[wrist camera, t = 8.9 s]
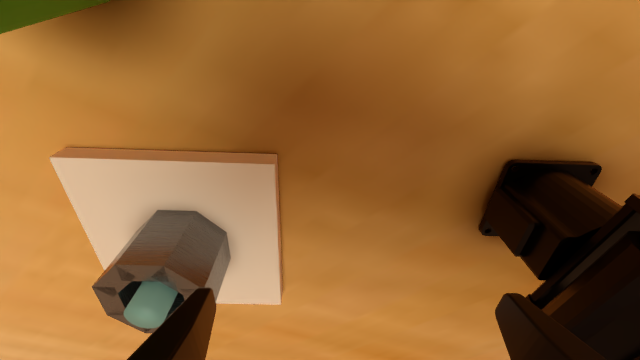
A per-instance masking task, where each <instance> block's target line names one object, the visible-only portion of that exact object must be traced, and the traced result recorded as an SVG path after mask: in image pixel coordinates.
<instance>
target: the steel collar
mask: <svg viewBox="0 0 640 360" xmlns="http://www.w3.org/2000/svg"><path fill="white" fill-rule="evenodd" d="M230 259H231V256H230V250H229V244H228V237H227V232H226V231H224V230H223V229H221V228H220V227H219V226H217V225H216V224H214V223H213V222H211V221H210V220H209V219H207V218H206V217H204V216H203V215H201V214H200V213H199V212H197V211H181V210H157V211H156V212H155V213H154V214H153V215H152V216H151V217H150V218H149V219H148V220H147V221H146V222H145V223H144V224H143V225H142V226H141V227H140V228H139V229H138V230H137V231H136V233H135V234H134V235H133V236H132V238H131V239H130V240H129V241H128V243H127V244H126V245H125V246H124V248H123V249H122V250H121V251H120V253H119V254H118V255H117V256H116V257H115V259H114V260H113V261H112V262H111V264H110V265H109V266H108V267H107V269H106V270H105V271H104V272H103V274H102V275H101V276H100V277H99V279H98V280H97V281H96V282H95V283H94V285H93V286H92V288H93V290H94V292H95V294H96V295H97V297H98V299H99V301H100V303H101V305H102V306H103V308H104V310H105V312H106V314H107V315H108V316H110V317H112V318H114V319H117V320H119V321H121V322H123V323H125V324H127V325H129V326H131V327H134V328H136V329H138V330H140V331H142V332H144V333H153V332H154V331H155V330H156V329H157V328H158V327H157V328H141V327H138V326H135V325H133V324H131V323H130V322H128V321H127V320H126V318H125V317H124V310H125V309H126V307H127V305H128V304H129V302H130V301H131V299H132V298H133V296H134V294H135V293H136V291H137V290H138V288H139V287H140V285H141V284H142V282H143V281H150V282H161V283H163V284H164V285H166V286H168V287H170V288H172V289H173V290H175V291H177V292H178V294H177V296H176V298H175V300H174V302H173V304H172V306H171V308H170V310H169V312H168V314H167V316H166V318H165V320H166V319H167V318H168V317H169V316H170V315H171V314H172V313H173V312H174V311H175V310H176V309H177V308H178V307H179V306H180V305H181V304H182V303H183V302H184V301H185V300H186V299H187V298H188V297H189V296H190V295H191V294H192V293H193V292H194V290H196V289H197V288H199V287H210V288H212V290H213V293H214V297H215V302H216V300H217V297H218V294H219V291H220V288H221V285H222V282H223V279H224V277H225V274H226V271H227V268H228V265H229V262H230ZM165 320H164V321H165Z"/></svg>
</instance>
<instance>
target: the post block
mask: <svg viewBox="0 0 640 360" xmlns="http://www.w3.org/2000/svg"><path fill="white" fill-rule="evenodd" d="M49 159H50V161H51V163H52V165H53V167H54V169H55V171H56V173H57V175H58V177H59V179H60V181H61V183H62V185H63V187H64V189H65V191H66V193H67V195H68V197H69V199H70V201H71V203H72V206H73V208H74V210H75V212H76V214H77V216H78V218H79V220H80V222H81V224H82V226H83V228H84V230H85V232H86V234H87V236H88V238H89V240H90V242H91V244H92V246H93V248H94V250H95V252H96V254H97V256H98V258H99V260H100V262H101V264H102V266H103V269H104V271H105V270H106V269H107V267H108V266H109V265H110V264H111V262H112V261H113V260H114V259H115V257H116V256H117V255H118V254H119V253H120V251H121V250H122V249H123V248H124V246H125V245H126V244H127V243H128V241H129V240H130V239H131V238H132V236H133V235H134V234H135V233H136V231H137V230H138V229H139V228H140V227H141V226H142V225H143V224H144V223H145V222H146V221H147V220H148V219H149V218H150V217H151V216H152V215H153V214H154V213H155V212H156V211H157V210H181V211H197V212H199V213H200V214H201V215H203V216H204V217H206V218H207V219H209V220H210V221H211V222H213V223H214V224H216V225H217V226H219V227H220V228H221V229H223V230H224V231H226V232H227V237H228V244H229V250H230V256H231V259H230V262H229V265H228V268H227V271H226V274H225V277H224V279H223V282H222V285H221V288H220V291H219V294H218V297H217V300H216V303H222V304H277V305H281V300H282V292H283V285H282V260H281V234H280V209H279V184H278V158H277V154H258V153H227V152H197V151H166V150H136V149H105V148H75V147H66V148H64V149H63V150H61V151H59V152H57V153H55V154H54V155H52V156H50V157H49ZM177 294H178V292H177V291H175V290H173V289H172V288H170V287H168V286H166V285H164V284H163V283H161V282H150V281H143V282H142V284H141V285H140V287H139V288H138V290H137V291H136V293H135V294H134V296H133V298H132V299H131V301H130V302H129V304H128V305H127V307H126V309H125V310H124V317H125V318H126V320H127V321H128V322H130V323H131V324H133V325H135V326H138V327H141V328H157V327H159V326H160V325H161V324H162V323H163V322H164V320H165V318H166V316H167V314H168V312H169V310H170V308H171V306H172V304H173V302H174V300H175V298H176V296H177Z"/></svg>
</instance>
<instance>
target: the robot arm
mask: <svg viewBox="0 0 640 360" xmlns="http://www.w3.org/2000/svg"><path fill="white" fill-rule="evenodd" d="M514 166H516V167H515V168H514V169H512V168H513V167H514ZM601 170H602V167H601V166H600V165H598V164H596V163H593V162H563V161H533V160H511V161H509V162H508V163H507V164H506V165H505V167H504V169H503V172H502V174H501V176H500V179H499V181H498V184H497V186H496V188H495V190H494V193H493V195H492V197H491V200H490V202H489V205H488V207H487V209H486V212H485V214H484V217H483V220H482V222H481V224H480V227H479V231H480V232H481V234H482V235H484V236H500V238H501V239H502V240H503V241H504V243H505V244H506V245H507V246H508V248H509V249H510V250H511V251H512V253H513V254H514V255H515V256H520V257H521V259H522V260H523V261H524V262H525V263H526V265H527V266H528V267H529V268H530V270H531V271H532V272H533V273H534V275H535V276H536V277H537V278H538V279H539V280H546V281H545V282H544V283H543V284H542V285H541V286H540V287H538V288H537V289H536V290H535V291H534V292H533V293H532V294H529V295H528V296H527V297H526V298H525V297H524V296H522V295H520V294H517V293H506V294H504V295H503V297H502V298H501V300H500V302H499V304H498V306H497V307H496V310H495V315H496V319H497V322H498V325H499V328H500V331H501V333H502V336H503V339H504V342H505V345H506V347H507V350H508V353H509V356H510V359H511V360H640V195H636V194H632V195H631V196H630V197H629V198H628V199H627V200H626V201H625V203H626V204H625V205H624V206H623V207H622V206H620V205H619V204H617V203H616V202H614V201H613V200H611V199H610V198H608V197H607V196H605V195H603V194H602V193H600V192H599V191H597V190H596V189H594V188H593V187H592V185H593V184H594V182H595V180H596V179H597V177H598V176H599V174H600V172H601ZM486 229H487V230H486ZM215 313H216V302H215V297H214V293H213V290H212V288H210V287H199V288H197V289H196V290H194V292H193V293H192V294H191V295H190V296H189V297H188V298H187V299H186V300H185V301H184V302H183V303H182V304H181V305H180V306H179V307H178V308H177V309H176V310H175V311H174V312H173V313H172V314H171V315H170V316H169V317H168V318H167V319H166V320H165V321H164V322H163V323H162V324H161V325H160V326H159V327H158V328H157V329H156V330H155V331H154V332H153V333H152V334H151V335H150V336H149V337H148V339H147V340H146V341H145V342H144V343H143V344H142V345H141V346H140V347H139V348H138V349H137V350H136V351H135V352H134V353H133V354H132V355H131V356H130V357H129V358H128V359H127V360H205V358H206V353H207V349H208V344H209V340H210V335H211V331H212V326H213V322H214V317H215Z"/></svg>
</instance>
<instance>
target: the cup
mask: <svg viewBox="0 0 640 360" xmlns="http://www.w3.org/2000/svg"><path fill="white" fill-rule="evenodd" d="M109 1H110V0H0V34H1V33H5V32H8V31H12V30H15V29H18V28H22V27H25V26H28V25H32V24H35V23H39V22H42V21H45V20H49V19H52V18H55V17H59V16H62V15H65V14H69V13H72V12H76V11H79V10H82V9H86V8H89V7H92V6H96V5H99V4H103V3H106V2H109Z"/></svg>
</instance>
